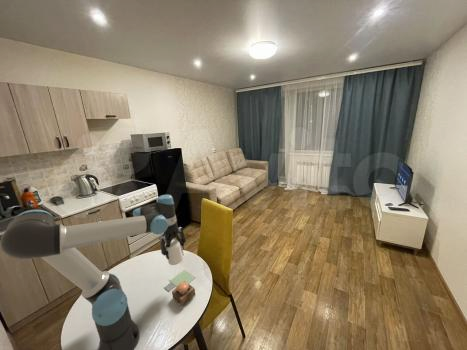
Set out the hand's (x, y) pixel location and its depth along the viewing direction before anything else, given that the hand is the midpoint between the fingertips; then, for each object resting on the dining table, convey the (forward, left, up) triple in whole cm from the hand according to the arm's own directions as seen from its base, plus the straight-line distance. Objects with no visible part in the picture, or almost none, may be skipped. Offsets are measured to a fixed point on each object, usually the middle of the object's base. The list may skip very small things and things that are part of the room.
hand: (176, 258), depth 110 cm
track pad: (-6, +2, -16) cm, 17 cm away
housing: (-5, -10, -16) cm, 20 cm away
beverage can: (0, 0, -1) cm, 1 cm away
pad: (+2, 0, -16) cm, 16 cm away
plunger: (-5, -10, -15) cm, 19 cm away
